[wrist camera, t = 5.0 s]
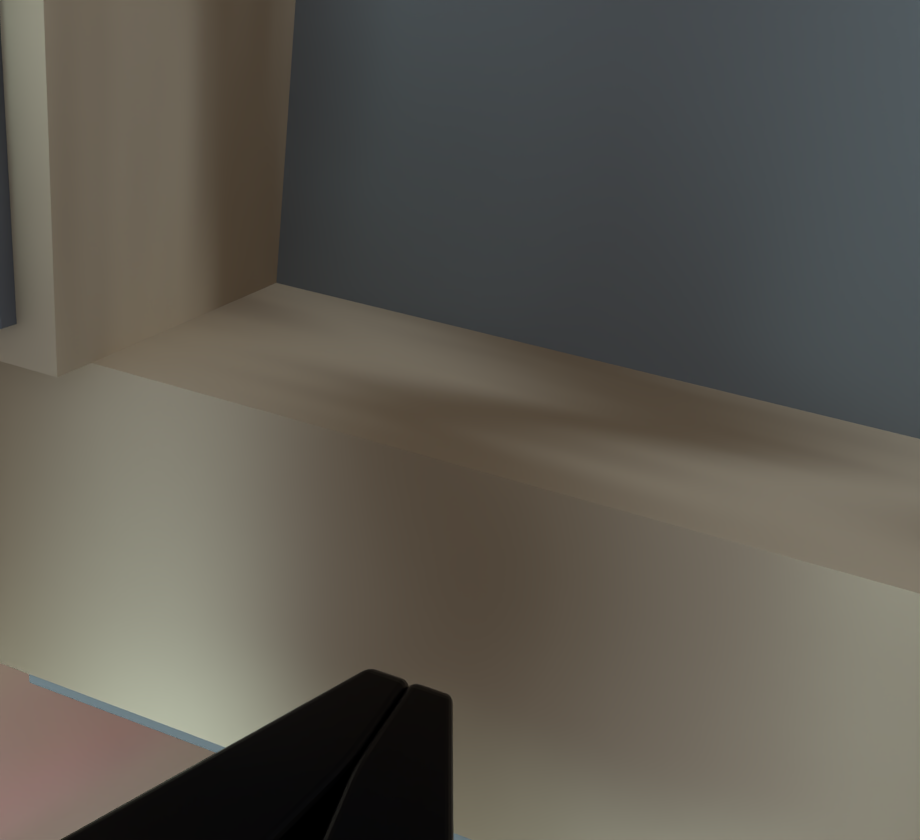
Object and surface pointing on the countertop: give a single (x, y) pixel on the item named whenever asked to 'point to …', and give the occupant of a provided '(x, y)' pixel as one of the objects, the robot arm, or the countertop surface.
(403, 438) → the plain bar
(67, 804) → the countertop surface
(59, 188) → the number block
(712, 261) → the mat
